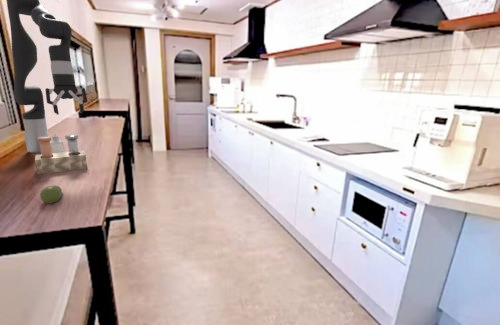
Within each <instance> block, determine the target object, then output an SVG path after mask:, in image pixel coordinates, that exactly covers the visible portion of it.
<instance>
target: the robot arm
mask: <svg viewBox="0 0 500 325" xmlns="http://www.w3.org/2000/svg"><path fill="white" fill-rule="evenodd" d="M6 6H7V11H8V19H9V25H10V34H11V35H10V37H11V39H10V40H11V53H12V54H11V55H12V61H13V62H12V63H13V72H14V73H13V74H14V75H13V79H14V80H13V85H14V86H13V89H14V91H13V94H14V99H15V102H16V103H17V104H18V105H19V106H33V107H32V108H31V109H30V110H28V111H25V112H23V113H22V119H23V123H24V124H23V125H24V128H25V133H24V134H23V136H24V140H25V146H26V147H25V148H26V151H27V152H26V153H33V154H37V153H40V154H41V149H40V143H39V141H37V138H39V137H50V136H49V132H48V124H47V119H46V111H45V110H46V109H45V104H44V102H45V101H44V94H43V91H42V88H40V86H39V85H37V86H36V85H26V81H27V79H28V78H27V77H28V76H29V75H30V73H31V72H32V70H34V68H35V67H36V64H37V63H38V48H37V44H36V43H35V42H34V40H33V39H32V37H31V36H30V35H29V33H27V31H26V29H25V27H24V26H23V24H22V22H21V17H20V15H22V16H23V15H24V16H30V17H31V20H32V21H33V22H34V23H35V25H36V26H38V30H39V32H40V34H41V35H42V37H45V38H47V39H54V40H60V43H59V44H53V45H50V46H48V54H49V61H50V71H51V75H52V76H51V77H52V81H53V88H48V87H47V88H45V97H46V103H47V104H49V105H52V108H53V112H54V114H56V115H58V116H59V114H60V112H59V107H58V105H57V104H58V102H59V101H60V100H61V99H62V100H67V99H68V100H72V99H73V100H75V101H76V102H77V103H78V107H79V109H78V110H79V113H80V114H83V113H84V112H85V108H84V104H85V103H88V96H87V93H86V88H84V87H82V88H77V85H76V79H75V74H74V73H75V71H74V67H73V63H72V59H71V51H70V49H71V40H72V34H73V32H72V27H71V26H70V24H69V23H68V21H64V20H59V19H56V17H55V15H53V14H52V13H50V12H49V11H48V10H47V9H46V8H45V7H44V5H43V3H42V2H41V1H40V0H6ZM53 92H54V94H55V95H57V96H55V98H54V100H51V95H52V94H53ZM78 92H79V94H80V95H81V96H82V100H81V99H80V98H79V97H78V96H77V94H78Z"/></svg>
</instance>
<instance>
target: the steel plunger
mask: <svg viewBox="0 0 500 325" xmlns="http://www.w3.org/2000/svg"><path fill="white" fill-rule="evenodd" d="M64 138H65V140H67V148H68V152H69V154H70V155H78V154H79V151H80V150H79V144H78V139H79V135H78V134H69V135H65V136H64Z"/></svg>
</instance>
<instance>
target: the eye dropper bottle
mask: <svg viewBox="0 0 500 325" xmlns="http://www.w3.org/2000/svg"><path fill="white" fill-rule="evenodd" d="M51 139H52V140H51V141H50V145H51V151H52V153H63V152H66V150H65V145H64V142H63V141H62V140H60V138H59V135H58V134H57V133H55V132H53V135H52V137H51Z"/></svg>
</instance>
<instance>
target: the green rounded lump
mask: <svg viewBox="0 0 500 325" xmlns="http://www.w3.org/2000/svg"><path fill="white" fill-rule="evenodd" d="M63 194H64V193H63V191H62V188H61V187H60V186H59V185H49V186H46V187H44V188H42V190H40V194H39V196H40V200H41V201H42V202H43V203H46V204H54V203H56V202H58V201H59V199H61V197H62V196H63Z"/></svg>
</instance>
